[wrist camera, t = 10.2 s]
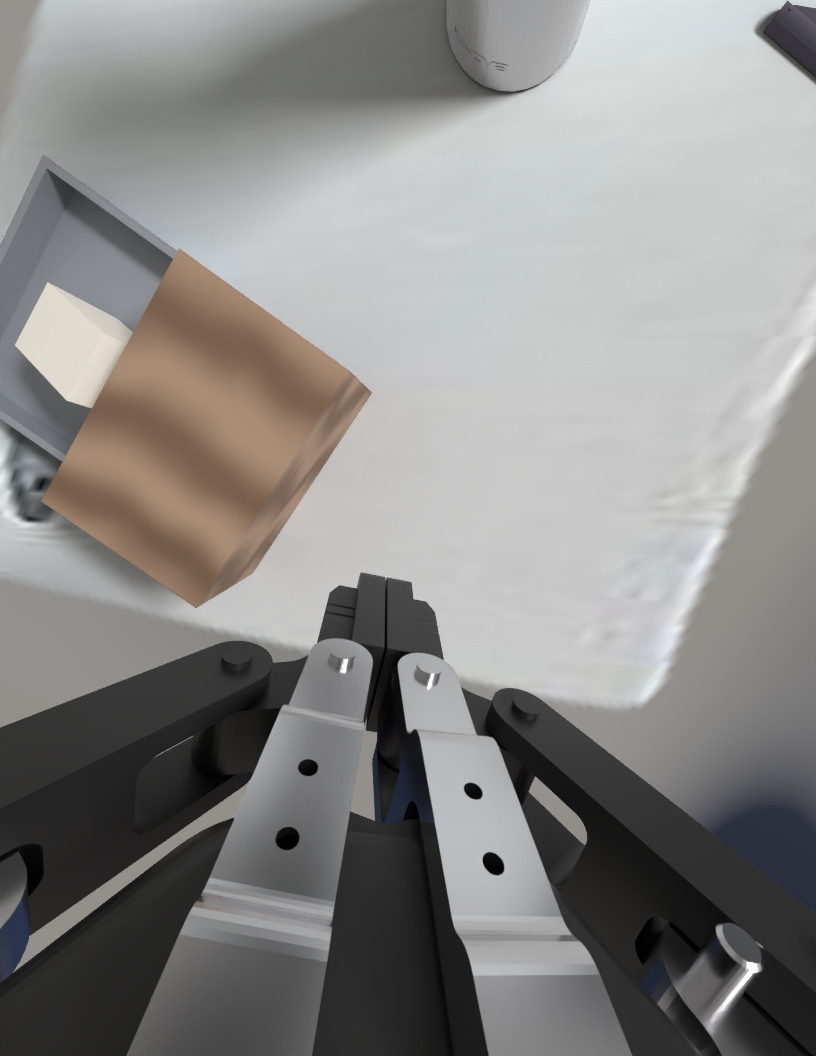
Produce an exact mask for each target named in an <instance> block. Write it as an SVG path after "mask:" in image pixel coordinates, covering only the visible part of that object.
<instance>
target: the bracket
mask: <svg viewBox="0 0 816 1056" xmlns="http://www.w3.org/2000/svg"><path fill="white" fill-rule="evenodd" d="M764 33H765V34H766V35H767V36H769V37H770V38H771V39H772V40H773V41H774V42H776V43H777V44H778V45H779V46H780V47H781V48H783V49H784V50H785V51H786V52H787V53H789V54H790V55H791V56H792V57H793V58H794V59H796V60H797V61H798V62H799V63H800V64H801V65H803V66H804V67H805V68H806V69H807V70H809V71H810V72H811V73H812V74H813V75H814V76H816V8H809V7H803V6H798V5H792V4H791V3H790V2H789V1H787V2H786V3H785V4H784V6H783V7H782V8H781V10H780V11H779V12H778V14H777V15H776V16H775V18H774V19H773V20H772V22H771V23H770V24H769V25H768V27H767V28H766V29H765V31H764Z"/></svg>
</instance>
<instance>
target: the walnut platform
mask: <svg viewBox="0 0 816 1056" xmlns="http://www.w3.org/2000/svg"><path fill="white" fill-rule="evenodd" d="M371 393H372V392H371V391H370V390H369V389H368V388H367V387H366V386H364V385H363V384H362V383H361V382H360V381H359V380H358V379H357V378H356V377H355V376H354V375H353V374H352V373H351V372H350V371H349V370H347V369H346V368H345V367H343V366H342V365H340V364H339V363H338V362H336V361H335V360H333V359H332V358H331V357H329V356H328V355H327V354H325V353H324V352H322V351H321V350H320V349H318V348H317V347H315V346H314V345H313V344H311V343H310V342H308V341H307V340H306V339H304V338H303V337H301V336H300V335H299V334H297V333H296V332H295V331H293V330H292V329H290V328H289V327H288V326H286V325H285V324H283V323H282V322H281V321H279V320H278V319H276V318H275V317H274V316H272V315H271V314H269V313H268V312H267V311H265V310H264V309H263V308H261V307H260V306H258V305H257V304H256V303H254V302H253V301H251V300H250V299H249V298H247V297H246V296H244V295H243V294H242V293H240V292H239V291H238V290H236V289H235V288H233V287H232V286H231V285H229V284H228V283H226V282H225V281H224V280H222V279H221V278H219V277H218V276H217V275H215V274H214V273H212V272H211V271H210V270H208V269H207V268H206V267H204V266H203V265H201V264H200V263H199V262H197V261H196V260H194V259H193V258H192V257H190V256H189V255H187V254H186V253H185V252H183V251H182V250H180V249H178V251H177V253H176V255H175V257H174V258H173V260H172V262H171V264H170V266H169V268H168V269H167V271H166V273H165V275H164V277H163V279H162V280H161V282H160V284H159V286H158V288H157V290H156V291H155V293H154V295H153V297H152V299H151V301H150V302H149V304H148V306H147V308H146V310H145V312H144V313H143V315H142V317H141V319H140V321H139V323H138V324H137V326H136V328H135V330H134V332H133V334H132V335H131V337H130V339H129V341H128V343H127V345H126V346H125V348H124V350H123V352H122V354H121V356H120V357H119V359H118V361H117V363H116V365H115V367H114V368H113V370H112V372H111V374H110V376H109V378H108V379H107V381H106V383H105V385H104V387H103V389H102V390H101V392H100V394H99V396H98V398H97V400H96V401H95V403H94V405H93V407H92V409H91V411H90V412H89V414H88V416H87V418H86V420H85V422H84V423H83V425H82V427H81V429H80V431H79V433H78V434H77V436H76V438H75V440H74V442H73V444H72V445H71V447H70V449H69V451H68V453H67V455H66V456H65V458H64V460H63V462H62V464H61V466H60V467H59V469H58V471H57V473H56V475H55V477H54V478H53V480H52V482H51V484H50V486H49V488H48V489H47V491H46V493H45V495H44V497H43V499H42V500H41V501H42V502H43V503H45V504H46V505H48V506H49V507H50V508H52V509H53V510H55V511H56V512H58V513H59V514H61V515H62V516H63V517H65V518H66V519H68V520H69V521H71V522H72V523H74V524H75V525H76V526H78V527H79V528H81V529H82V530H84V531H85V532H87V533H88V534H90V535H91V536H92V537H94V538H95V539H97V540H98V541H100V542H101V543H103V544H104V545H105V546H107V547H108V548H110V549H111V550H113V551H114V552H116V553H117V554H118V555H120V556H121V557H123V558H124V559H126V560H127V561H129V562H130V563H131V564H133V565H134V566H136V567H137V568H139V569H140V570H142V571H143V572H145V573H146V574H147V575H149V576H150V577H152V578H153V579H155V580H156V581H158V582H159V583H160V584H162V585H163V586H165V587H166V588H168V589H169V590H171V591H172V592H173V593H175V594H176V595H178V596H179V597H181V598H182V599H184V600H185V601H187V602H188V603H189V604H191V605H192V606H194V607H195V608H197V607H199V606H200V605H202V604H203V603H205V602H207V601H208V600H210V599H212V598H213V597H215V596H216V595H218V594H220V593H221V592H223V591H225V590H226V589H228V588H230V587H231V586H233V585H234V584H236V583H238V582H239V581H241V580H243V579H244V578H246V577H247V576H249V575H251V574H252V573H253V572H254V570H255V569H256V567H257V566H258V564H259V563H260V561H261V560H262V558H263V557H264V555H265V554H266V552H267V551H268V549H269V548H270V546H271V545H272V543H273V542H274V540H275V539H276V537H277V535H278V534H279V532H280V531H281V529H282V528H283V526H284V525H285V523H286V522H287V520H288V519H289V517H290V516H291V514H292V513H293V511H294V510H295V508H296V507H297V505H298V504H299V502H300V501H301V499H302V498H303V496H304V495H305V493H306V492H307V490H308V489H309V487H310V486H311V484H312V483H313V481H314V479H315V478H316V476H317V475H318V473H319V472H320V470H321V469H322V467H323V466H324V464H325V463H326V461H327V460H328V458H329V457H330V455H331V454H332V452H333V451H334V449H335V448H336V446H337V445H338V443H339V442H340V440H341V439H342V437H343V436H344V434H345V433H346V431H347V430H348V428H349V427H350V425H351V423H352V422H353V420H354V419H355V417H356V416H357V414H358V413H359V411H360V410H361V408H362V407H363V405H364V404H365V402H366V401H367V399H368V398H369V396H370V395H371Z"/></svg>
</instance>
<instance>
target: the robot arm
mask: <svg viewBox="0 0 816 1056" xmlns="http://www.w3.org/2000/svg"><path fill="white" fill-rule="evenodd" d="M589 3H590V0H447V32H448V38H449V43H450V46H451V48H452V51H453V54H454V56H455V58H456V60H457V61H458V63H459V64H460V66H461V67H462V69H463V70H464V71H465V72H466V73H467V74H468V75H469V76H470V77H471V78H472V79H473V80H475V81H476V82H478V83H480V84H482V85H483V86H485V87H488V88H491V89H494V90H498V91H518V90H524V89H528V88H530V87H532V86H535V85H537V84H539V83H541V82H543V81H544V80H546V79H547V78H548V77H550V76H551V75H553V74H554V73H555V72H556V71H557V70H558V69H559V67H560V66H561V65H562V64H563V63H564V62H565V61H566V59H567V57H568V56H569V54H570V53H571V51H572V50H573V48H574V45H575V43H576V41H577V38H578V36H579V33H580V30H581V27H582V24H583V21H584V18H585V15H586V12H587V9H588V6H589ZM366 718H367V724H366V730H367V731H372V732H377V743H376V747H375V751H374V754H373V758H372V771H373V791H374V812H375V821H373V820H371V819H368V818H366V817H363V816H360V815H358V814H355V813H353V812H350V809H351V803H352V797H353V791H354V784H355V779H356V773H357V766H358V761H359V755H360V749H361V742H362V736H363V730H364V725H365V721H366ZM191 736H193V737H192V738H190V739H188V740H186V739H187V738H189V737H191ZM184 740H186V741H184ZM182 741H184V742H183V743H181V744H179V745H177V746H175V747H173V746H174V745H176V744H178V743H180V742H182ZM171 747H173V748H172V749H169V748H171ZM167 749H169V750H168V751H166V752H164V753H162V754H160V753H161V752H163V751H165V750H167ZM158 754H160V755H158ZM156 755H158V756H157V757H155V756H156ZM154 757H155V758H154ZM535 776H536V777H537V778H538V779H539V780H540V781H541V782H543V783H544V784H545V785H546V786H547V787H548V788H549V789H550V790H551V791H552V792H553V793H554V794H555V795H557V796H558V797H559V798H560V799H561V800H562V801H563V802H564V803H565V804H566V805H567V806H568V807H570V808H571V809H572V810H573V811H574V812H575V813H576V814H577V815H578V816H579V817H580V819H581V820H582V822H583V824H584V826H585V828H586V831H587V843H586V845H584V844H582V843H581V842H580V841H579V840H578V839H577V838H576V837H574V836H573V834H571V832H569V831H568V830H567V829H566V828H565V827H564V826H563V825H562V824H561V823H560V822H559V821H558V820H557V819H556V818H555V817H554V816H553V815H552V814H551V813H550V812H549V811H548V810H547V809H546V808H545V807H544V806H542V805H541V804H540V803H539V802H538V801H537V800H536V799H535V798H534V797H533V796H532V795H531V794H530V793H529V792H528V791H529V789H530V787H531V784H532V782H533V780H534V778H535ZM250 779H251V781H250V783H249V785H248V788H247V790H246V792H245V795H244V797H243V799H242V802H241V804H240V807H239V809H238V811H237V814H236V816H235V818H232V819H229V820H226V821H223V822H220V823H218V824H215V825H213V826H211V827H209V828H207V829H205V830H203V831H201V832H199V833H198V834H196V835H194V836H193V837H191V838H189V839H188V840H186V841H185V842H183V843H182V844H180V845H179V846H178V847H176V848H175V849H174V850H172V851H171V852H170V853H168V854H167V855H166V856H165V857H163V858H162V859H161V860H160V861H158V862H157V863H156V864H154V865H153V866H152V867H150V868H149V869H148V870H146V871H145V872H144V873H143V874H141V875H140V876H139V877H137V878H136V879H135V880H133V881H132V882H131V883H129V884H128V885H127V886H126V887H124V888H123V889H122V890H120V891H119V892H118V893H116V894H115V895H114V896H113V897H111V898H110V899H109V900H107V901H106V902H105V903H103V904H102V905H101V906H100V907H98V908H97V909H96V910H94V911H93V912H92V913H90V914H89V915H88V916H87V917H85V918H84V919H83V920H81V921H80V922H79V923H77V924H76V925H75V926H73V927H72V928H71V929H70V930H68V931H67V932H66V933H65V934H63V935H62V936H60V937H59V938H58V939H57V940H55V941H54V942H53V943H51V944H50V945H49V946H47V947H46V948H45V949H44V950H42V951H41V952H40V953H38V954H37V955H36V956H34V957H33V958H32V959H31V960H29V961H28V962H27V963H25V964H24V965H23V966H21V967H20V968H19V969H18V970H16V971H15V972H14V970H15V969H16V966H17V965H18V964H19V962H20V960H21V958H22V956H23V954H24V952H25V950H26V947H27V944H28V941H29V936H30V935H32V934H33V933H35V932H36V931H37V930H39V929H40V928H42V927H43V926H45V925H46V924H47V923H49V922H50V921H52V920H53V919H55V918H56V917H57V916H59V915H60V914H61V913H63V912H64V911H66V910H67V909H69V908H70V907H72V906H73V905H74V904H76V903H77V902H79V901H80V900H82V899H83V898H85V897H86V896H87V895H89V894H90V893H92V892H93V891H95V890H96V889H97V888H99V887H100V886H102V885H103V884H105V883H106V882H107V881H109V880H110V879H111V878H113V877H115V876H116V875H117V874H119V873H120V872H122V871H123V870H124V869H126V868H127V867H128V866H130V865H132V864H133V863H134V862H136V861H137V860H139V859H140V858H142V857H143V856H144V855H146V854H147V853H149V852H150V851H152V850H153V849H154V848H156V847H157V846H158V845H160V844H162V843H163V842H164V841H166V840H167V839H169V838H170V837H171V836H173V835H174V834H176V833H177V832H179V831H180V830H181V829H183V828H184V827H186V826H187V825H188V824H190V823H192V822H193V821H194V820H196V819H197V818H199V817H200V816H202V815H203V814H204V813H206V812H207V811H208V810H210V809H211V808H213V807H214V806H216V805H217V804H219V803H220V802H221V801H223V800H224V799H226V798H227V797H229V796H230V795H232V794H233V793H234V792H236V791H237V790H239V789H240V788H241V787H243V786H244V785H245V784H246V783H248V781H249V780H250ZM13 972H14V973H13ZM0 1056H816V914H815V913H814V912H812V911H811V910H810V909H809V908H807V907H806V906H805V905H803V904H802V903H801V902H800V901H798V900H797V899H796V898H794V897H793V896H792V895H790V894H789V893H788V892H787V891H786V890H784V889H783V888H782V887H780V886H779V885H777V884H776V883H775V882H774V881H773V880H771V879H770V878H769V877H768V876H766V875H765V874H764V873H762V872H761V871H760V870H759V869H757V868H756V867H755V866H753V865H752V864H751V863H750V862H748V861H747V860H746V859H744V858H743V857H742V856H741V855H739V854H738V853H737V852H735V851H734V850H733V849H732V848H730V847H729V846H728V845H726V844H725V843H724V842H723V841H721V840H720V839H719V838H717V837H716V836H715V835H714V834H712V833H711V832H710V831H709V830H707V829H706V828H705V827H703V826H702V825H701V824H700V823H698V822H697V821H695V820H694V819H693V818H692V817H690V816H689V815H688V814H687V813H685V812H684V811H683V810H682V809H680V808H679V807H678V806H676V805H675V804H674V803H673V802H671V801H670V800H669V799H667V798H666V797H665V796H664V795H662V794H661V793H660V792H658V791H657V790H656V789H655V788H653V787H652V786H651V785H650V784H648V783H647V782H646V781H644V780H643V779H642V778H641V777H639V776H638V775H636V774H635V773H634V772H633V771H631V770H630V769H629V768H628V767H626V766H625V765H624V764H623V763H621V762H620V761H619V760H617V759H616V758H615V757H613V756H612V755H611V754H610V753H608V752H607V751H606V750H605V749H603V748H602V747H601V746H599V745H598V744H597V743H596V742H594V741H593V740H592V739H591V738H589V737H588V736H586V735H585V734H584V733H583V732H581V731H580V730H579V729H578V728H576V727H575V726H574V725H572V724H571V723H570V722H569V721H567V720H566V719H565V718H564V717H562V716H561V715H560V714H558V713H557V712H556V711H555V710H553V709H552V708H551V707H549V706H548V705H547V704H546V703H544V702H543V701H542V700H540V699H539V698H537V697H536V696H534V695H532V694H530V693H528V692H526V691H523V690H519V689H514V688H505V689H501V690H499V691H497V692H496V693H495V694H494V697H493V699H492V701H490V700H488V699H485V698H483V697H480V696H478V695H475V694H473V693H471V692H469V691H467V690H465V689H463V688H462V687H461V686H460V683H459V680H458V677H457V674H456V672H455V671H454V669H453V668H452V667H451V666H450V665H449V664H448V663H447V662H445V661H444V659H443V653H442V648H441V643H440V637H439V634H438V627H437V621H436V616H435V612H434V611H433V610H432V608H431V607H430V606H429V605H428V603H427V602H425V601H419V600H414V599H413V591H412V583H411V582H408V581H403V580H398V579H392V578H386V581H385V577H382V576H377V575H372V574H366V573H360V577H359V581H358V586H357V589H356V588H351V587H345V586H340V585H339V586H338V587H337V588H335V589H334V590H333V591H331V592H330V594H329V598H328V602H327V606H326V610H325V614H324V618H323V622H322V626H321V630H320V634H319V638H318V641H317V644H315V645H314V646H313V647H312V649H311V651H310V654H309V655H308V656H306V657H304V658H302V659H299V660H296V661H291V662H278V663H273V662H272V657H271V655H270V654H269V652H268V651H266V649H264V648H263V647H261V646H259V645H257V644H254V643H250V642H245V641H228V642H223V643H220V644H217V645H214V646H211V647H209V648H206V649H203V650H201V651H198V652H196V653H193V654H190V655H188V656H185V657H183V658H180V659H177V660H175V661H172V662H170V663H167V664H165V665H162V666H159V667H157V668H154V669H151V670H149V671H146V672H144V673H141V674H139V675H136V676H134V677H131V678H128V679H126V680H123V681H120V682H118V683H115V684H112V685H110V686H107V687H105V688H102V689H99V690H97V691H94V692H92V693H89V694H86V695H84V696H81V697H79V698H76V699H74V700H71V701H68V702H66V703H63V704H61V705H58V706H55V707H53V708H51V709H48V710H45V711H42V712H40V713H37V714H34V715H32V716H30V717H27V718H24V719H22V720H19V721H16V722H14V723H11V724H9V725H6V726H3V727H1V728H0Z"/></svg>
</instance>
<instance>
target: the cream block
mask: <svg viewBox="0 0 816 1056" xmlns="http://www.w3.org/2000/svg"><path fill="white" fill-rule="evenodd" d="M132 334H133V332H132V331H131V330H130V329H129V328H127V327H126V326H125V325H124V324H123V323H122V322H121V321H119V320H118V319H117V318H115V317H113V316H111V315H109V314H107V313H105V312H104V311H102V310H100V309H98V308H96V307H94V306H92V305H90V304H88V303H86V302H85V301H83V300H81V299H79V298H77V297H75V296H73V295H71V294H69V293H67V292H66V291H64V290H62V289H60V288H58V287H56V286H54V285H52V284H50V283H49V282H47V284H46V286H45V288H44V290H43V292H42V294H41V296H40V298H39V300H38V302H37V303H36V305H35V307H34V309H33V311H32V313H31V315H30V317H29V319H28V321H27V323H26V325H25V327H24V328H23V330H22V332H21V334H20V336H19V338H18V340H17V342H16V344H15V346H16V347H17V348H18V349H19V350H20V351H21V352H22V353H23V355H24V356H25V357H26V358H27V359H28V360H29V361H30V362H31V363H32V364H33V365H34V366H35V367H36V368H37V369H38V371H39V372H40V373H41V374H42V375H43V376H44V377H45V378H46V379H47V380H48V381H49V382H50V383H51V384H52V386H53V387H54V388H55V389H56V390H57V391H58V392H59V393H60V394H61V395H62V396H63V397H64V398H65V399H66V401H70V402H73V403H76V404H79V405H82V406H85V407H89V408H92V407H93V405H94V403H95V401H96V400H97V398H98V396H99V394H100V392H101V390H102V389H103V387H104V385H105V383H106V381H107V379H108V378H109V376H110V374H111V372H112V370H113V368H114V367H115V365H116V363H117V361H118V359H119V357H120V356H121V354H122V352H123V350H124V348H125V346H126V345H127V343H128V341H129V339H130V337H131V335H132Z"/></svg>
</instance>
